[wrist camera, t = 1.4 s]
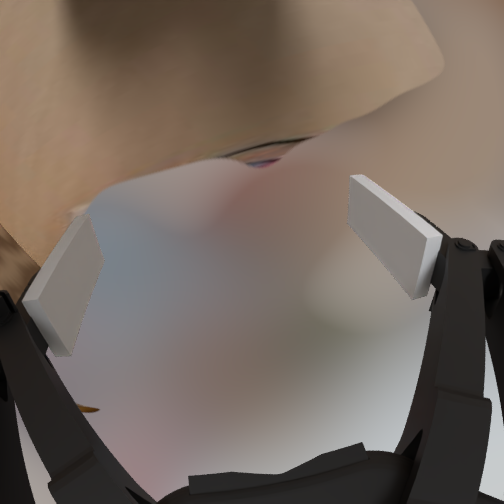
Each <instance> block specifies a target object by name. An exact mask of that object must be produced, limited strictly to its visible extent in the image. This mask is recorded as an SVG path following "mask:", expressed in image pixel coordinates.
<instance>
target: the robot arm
mask: <svg viewBox="0 0 504 504" xmlns="http://www.w3.org/2000/svg"><path fill="white" fill-rule="evenodd" d="M347 224H348V225H349V226H350V227H351V228H352V229H353V231H354V232H355V233H356V234H357V235H358V236H359V237H360V238H361V240H362V241H363V242H364V243H365V244H366V245H367V246H368V247H369V248H370V250H371V251H372V252H373V253H374V254H375V256H376V257H377V258H378V259H379V260H380V261H381V263H382V264H383V265H384V266H385V267H386V269H387V270H388V271H389V272H390V273H391V275H393V277H394V278H395V279H396V281H397V282H398V283H399V284H400V285H401V287H402V288H403V289H404V290H405V292H406V293H407V294H408V295H409V297H410V298H411V299H412V300H414V299H417V298H421V297H424V296H427V294H428V291H429V287H430V284H432V285H433V286H434V287H435V288H436V291H435V294H434V297H433V300H432V303H431V306H430V309H429V311H431V318H430V324H429V330H428V335H427V341H426V346H425V351H424V356H423V360H422V365H421V369H420V374H419V378H418V382H417V386H416V390H415V394H414V398H413V402H412V405H411V408H410V412H409V415H408V418H407V422H406V425H405V428H404V431H403V434H402V437H401V439H400V441H399V443H398V445H397V447H396V449H395V451H394V453H392V452H386V451H366V450H365V448H364V445H363V443H362V442H361V443H358V444H355V445H352V446H348V447H345V448H341V449H338V450H335V451H331V452H328V453H324V454H321V455H319V456H317V457H315V458H314V459H312V460H310V461H308V462H305V463H303V464H301V465H300V466H297V467H295V468H293V469H291V470H289V471H287V472H285V473H282V474H274V475H273V474H253V473H238V472H226V473H217V474H207V475H195V476H188V478H189V486H186V487H183V488H181V489H178V490H176V491H174V492H172V493H170V494H168V495H167V496H165V497H164V498H162V499H161V500H160V501H158V502H156V501H155V500H154V499H153V498H152V497H151V496H150V495H149V494H147V493H146V492H145V491H144V490H143V489H142V488H141V487H140V486H139V485H138V484H137V483H136V482H135V481H134V479H133V478H132V477H131V476H130V475H129V474H128V473H127V471H126V470H125V469H124V468H123V467H122V466H121V464H120V463H119V462H118V461H117V459H116V458H115V457H114V456H113V454H112V453H111V452H110V451H109V449H108V448H107V447H106V446H105V445H104V443H103V442H102V440H101V439H100V438H99V436H98V435H97V434H96V432H95V431H94V429H93V428H92V427H91V425H90V424H89V422H88V421H87V420H86V418H85V417H84V415H83V414H82V412H81V411H80V409H79V408H78V406H77V405H76V403H75V402H74V400H73V398H72V397H71V395H70V394H69V392H68V391H67V389H66V387H65V386H64V384H63V382H62V381H61V379H60V377H59V375H58V374H57V372H56V370H55V369H54V367H53V365H52V363H51V361H50V360H49V358H48V357H47V356H46V351H47V348H48V346H49V348H50V349H51V351H52V352H53V354H54V355H55V357H62V356H71V355H72V352H73V348H74V345H75V342H76V338H77V335H78V332H79V329H80V326H81V323H82V320H83V317H84V314H85V311H86V309H87V306H88V303H89V300H90V297H91V295H92V292H93V289H94V287H95V284H96V282H97V279H98V276H99V273H100V271H101V269H102V266H103V264H104V261H105V260H104V258H103V255H102V252H101V249H100V246H99V243H98V240H97V237H96V234H95V231H94V228H93V225H92V222H91V218H90V215H89V214H87V215H82V216H77V217H76V218H75V219H74V220H73V222H72V223H71V224H70V226H69V227H68V229H67V230H66V232H65V233H64V234H63V236H62V237H61V239H60V240H59V242H58V243H57V245H56V246H55V248H54V249H53V251H52V252H51V254H50V255H49V257H48V258H47V260H46V261H45V263H44V265H43V266H42V268H41V269H39V270H38V271H37V272H36V273H35V274H34V275H33V276H32V278H31V279H30V281H29V282H28V284H27V285H28V286H26V287H25V289H24V292H22V294H21V296H20V298H19V299H18V301H17V303H16V305H15V304H14V302H13V300H12V298H11V296H10V294H9V293H8V291H7V290H0V504H35V501H34V498H33V494H32V491H31V487H30V483H29V479H28V475H27V471H26V467H25V462H24V458H23V453H22V448H21V443H20V437H19V431H18V425H17V418H16V410H15V403H16V405H17V408H18V410H19V413H20V415H21V417H22V420H23V422H24V425H25V427H26V429H27V431H28V434H29V436H30V438H31V440H32V442H33V444H34V446H35V448H36V450H37V452H38V454H39V456H40V458H41V460H42V462H43V464H44V466H45V468H46V469H47V471H48V473H49V475H50V477H51V481H50V482H49V483H48V489H49V491H50V493H51V495H52V497H53V498H54V500H55V501H56V503H57V504H504V501H502V500H499V499H497V498H494V497H492V496H489V495H486V494H484V493H482V492H480V491H479V487H480V483H481V478H482V474H483V469H484V464H485V458H486V452H487V446H488V439H489V432H490V423H491V414H492V402H491V400H490V399H488V398H484V396H483V395H484V394H483V392H484V377H485V336H486V340H487V343H488V347H489V351H490V355H491V359H492V363H493V367H494V372H495V377H496V382H497V387H498V392H499V397H500V403H501V410H502V416H503V424H504V240H493V241H492V242H491V245H490V248H489V251H486V250H478V247H477V246H476V245H475V244H474V243H472V242H471V241H469V240H466V239H463V238H450V237H449V236H448V235H447V234H446V233H444V232H443V231H442V230H441V229H440V228H438V227H436V225H434V224H433V223H432V222H430V220H428V219H427V218H426V217H424V216H423V215H421V214H419V213H416V212H414V211H412V210H411V209H409V208H408V207H407V206H406V205H404V204H403V203H402V202H400V201H399V200H398V199H396V198H395V197H394V196H392V195H391V194H390V193H388V192H387V191H385V190H384V189H383V188H381V187H380V186H379V185H377V184H376V183H374V182H373V181H371V180H370V179H369V178H367V177H366V176H364V175H351V176H350V181H349V204H348V220H347ZM14 400H15V401H14Z"/></svg>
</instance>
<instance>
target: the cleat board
mask: <svg viewBox="0 0 504 504" xmlns="http://www.w3.org/2000/svg"><path fill="white" fill-rule="evenodd" d="M39 269H41V268H40V267H39V266H38V265H37V264H36V263H35V262H34V261H33V259H32V258H31V257H30V256H29V255H28V254H27V253H26V252H25V251H24V250H23V249H22V248H21V247H20V246H19V245H18V244H17V242H16V241H15V240H14V239H13V238H12V237H11V236H10V235H9V234H8V232H7V231H6V230H5V229H4V228H3V227H2V226H1V224H0V290H7V291H8V293H9V294H10V296H11V298H12V300H13V302H14V304H15V305H16V303H17V301H18V299H19V298H20V296H21V294H22V292H24V289H25V287H26V286H28V285H27V284H28V282H29V281H30V279H31V278H32V276H33V275H34V274H35V273H36V272H37V271H38V270H39Z"/></svg>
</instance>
